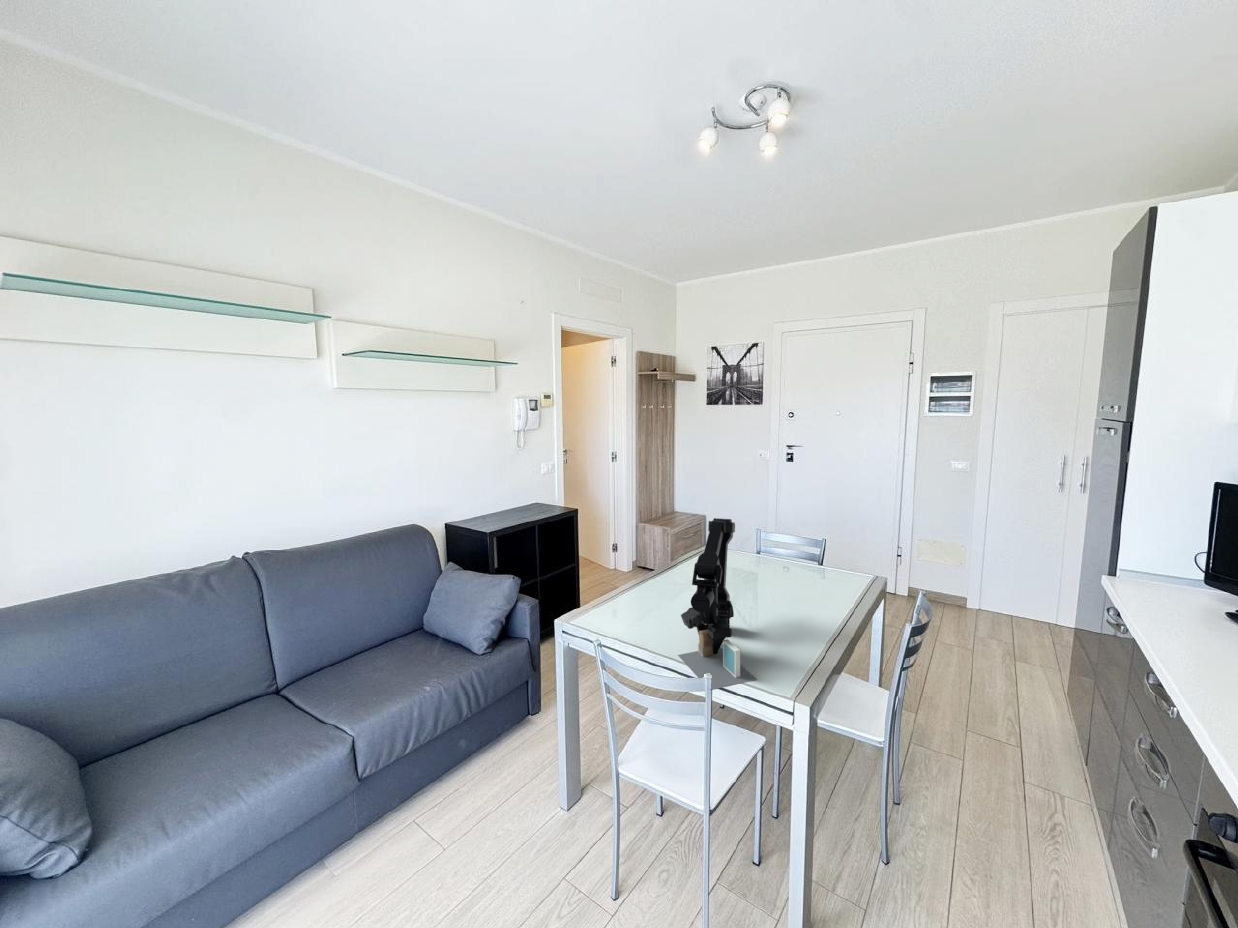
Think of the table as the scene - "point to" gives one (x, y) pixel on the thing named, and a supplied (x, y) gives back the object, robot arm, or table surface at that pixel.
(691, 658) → the mat
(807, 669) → the table surface
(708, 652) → the block
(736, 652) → the tile
